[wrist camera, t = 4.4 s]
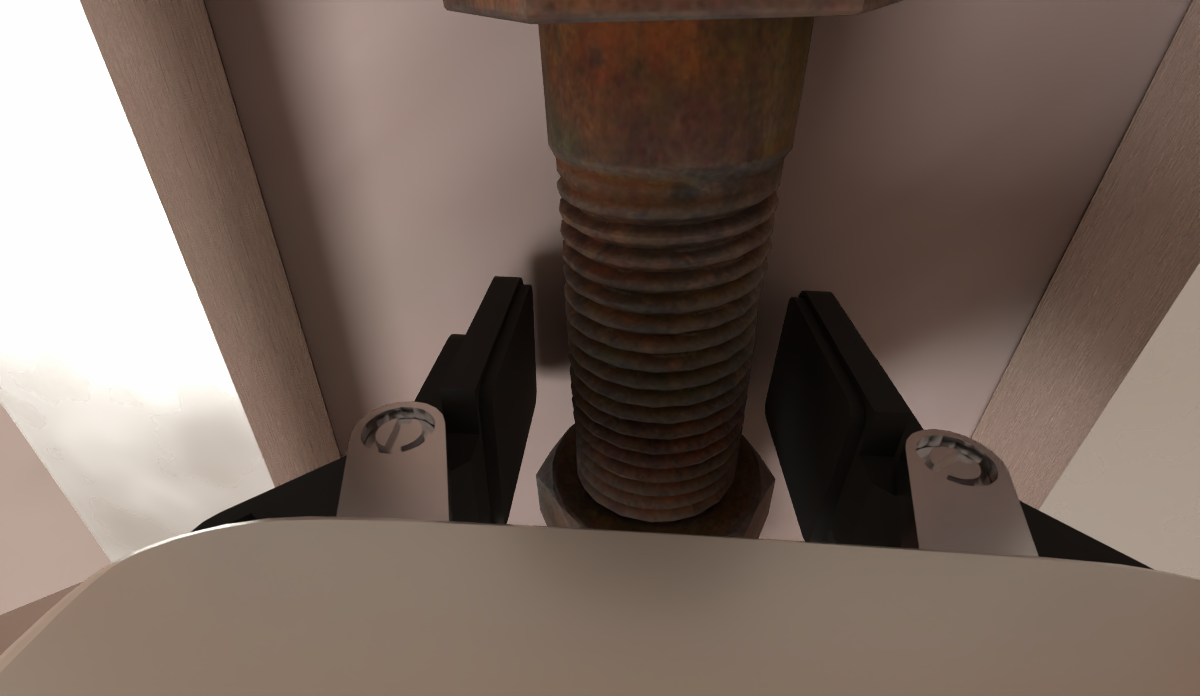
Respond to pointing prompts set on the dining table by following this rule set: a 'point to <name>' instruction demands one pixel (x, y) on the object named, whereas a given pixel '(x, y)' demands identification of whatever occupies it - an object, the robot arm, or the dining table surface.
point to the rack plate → (279, 351)
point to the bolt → (665, 245)
